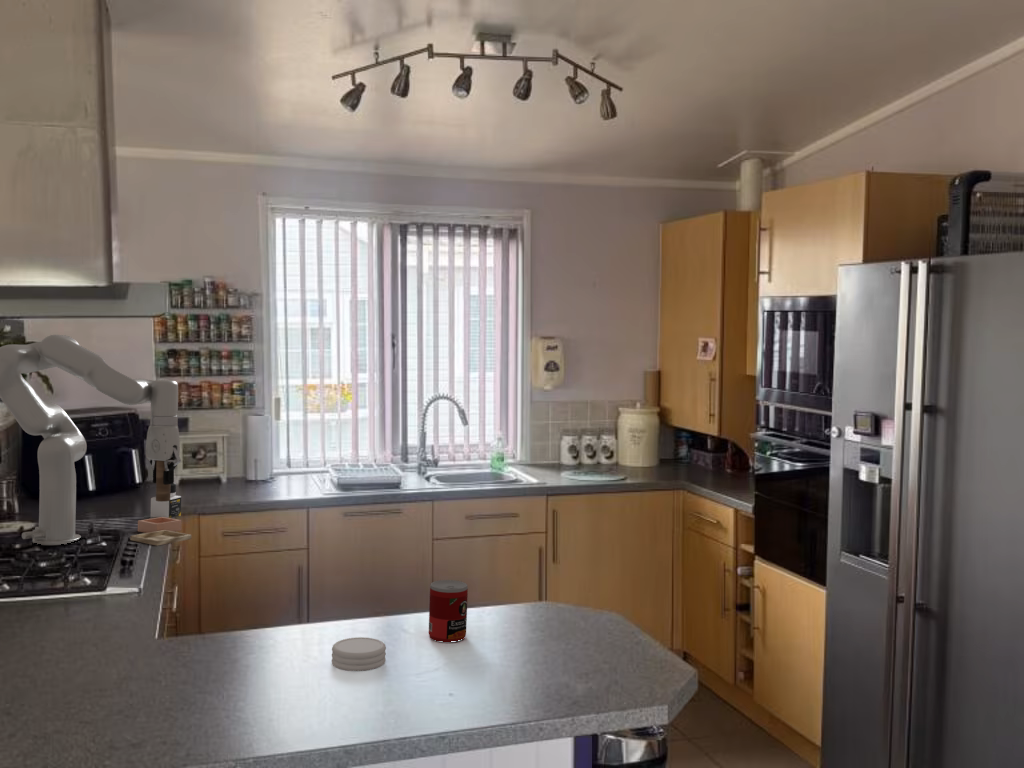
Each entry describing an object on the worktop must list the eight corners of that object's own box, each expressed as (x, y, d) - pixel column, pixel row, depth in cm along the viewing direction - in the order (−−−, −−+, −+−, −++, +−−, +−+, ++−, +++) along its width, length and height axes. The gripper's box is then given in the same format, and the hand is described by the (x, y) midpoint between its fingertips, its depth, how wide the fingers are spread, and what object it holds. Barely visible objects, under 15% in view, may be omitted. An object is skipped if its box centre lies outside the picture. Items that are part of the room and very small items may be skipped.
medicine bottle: (169, 520, 295) (169, 484, 295) (150, 518, 297) (150, 483, 296) (181, 516, 302) (182, 481, 302) (162, 515, 304) (163, 480, 303)
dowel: (161, 501, 259) (162, 454, 258) (152, 500, 261) (153, 453, 260) (173, 500, 262) (174, 453, 262) (164, 498, 264) (165, 452, 264)
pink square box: (156, 537, 268) (157, 524, 268) (137, 533, 272) (137, 520, 272) (181, 532, 276) (181, 520, 275) (162, 529, 280) (162, 516, 280)
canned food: (452, 646, 176) (453, 591, 176) (420, 638, 180) (422, 585, 180) (473, 636, 183) (475, 583, 182) (442, 629, 187) (444, 577, 187)
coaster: (327, 672, 160) (328, 653, 160) (335, 654, 170) (336, 636, 170) (382, 673, 160) (383, 654, 160) (387, 654, 170) (388, 636, 170)
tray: (157, 548, 253) (157, 541, 253) (130, 542, 259) (130, 535, 259) (191, 541, 264) (191, 534, 264) (164, 536, 270) (164, 529, 270)
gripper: (134, 420, 262) (133, 482, 262) (172, 424, 253) (171, 487, 254) (156, 419, 268) (155, 479, 269) (193, 422, 260) (192, 484, 260)
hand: (163, 482), depth 261 cm, fingers closed on dowel, 4 cm apart
